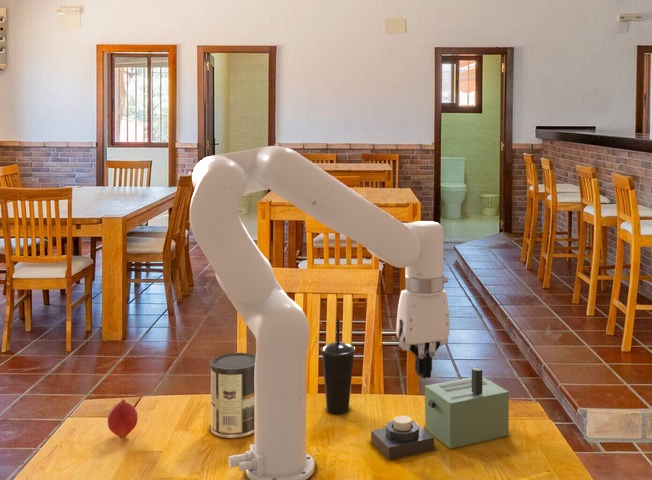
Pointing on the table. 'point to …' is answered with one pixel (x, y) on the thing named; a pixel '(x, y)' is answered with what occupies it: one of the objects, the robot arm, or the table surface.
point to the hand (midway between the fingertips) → (423, 375)
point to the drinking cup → (337, 373)
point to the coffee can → (233, 395)
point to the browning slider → (476, 380)
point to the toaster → (466, 412)
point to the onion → (122, 419)
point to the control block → (402, 441)
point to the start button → (402, 423)
